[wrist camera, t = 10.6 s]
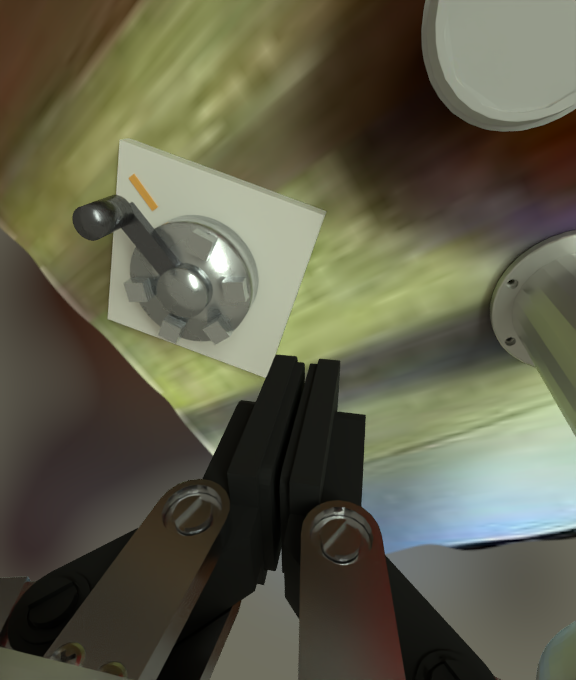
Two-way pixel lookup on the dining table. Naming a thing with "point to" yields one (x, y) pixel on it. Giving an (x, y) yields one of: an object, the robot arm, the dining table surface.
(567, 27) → the disposable coffee cup
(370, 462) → the dining table surface
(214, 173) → the base plate
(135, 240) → the silver lever knob
